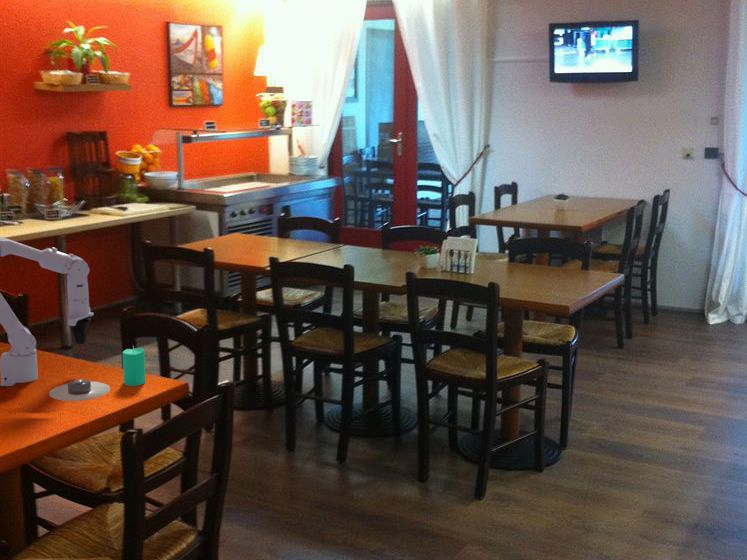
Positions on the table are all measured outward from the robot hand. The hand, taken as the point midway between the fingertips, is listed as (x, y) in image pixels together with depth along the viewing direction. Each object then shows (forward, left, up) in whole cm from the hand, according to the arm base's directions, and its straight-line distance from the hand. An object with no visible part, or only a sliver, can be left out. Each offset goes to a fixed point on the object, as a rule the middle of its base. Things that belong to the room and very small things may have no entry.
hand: (80, 343), depth 263 cm
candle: (+18, -10, -10) cm, 23 cm away
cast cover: (+5, -18, -8) cm, 21 cm away
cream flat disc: (+5, -18, -9) cm, 21 cm away
